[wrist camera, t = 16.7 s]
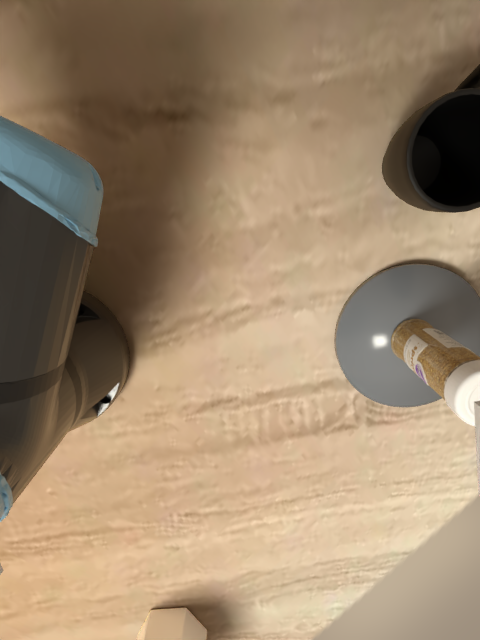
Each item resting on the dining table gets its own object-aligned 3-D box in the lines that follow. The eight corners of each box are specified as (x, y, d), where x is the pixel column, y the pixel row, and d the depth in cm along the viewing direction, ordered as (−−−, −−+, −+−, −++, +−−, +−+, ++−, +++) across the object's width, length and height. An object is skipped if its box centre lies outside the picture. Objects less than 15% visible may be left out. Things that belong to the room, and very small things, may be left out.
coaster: (344, 413, 45) (346, 418, 44) (325, 279, 41) (327, 280, 40) (484, 389, 44) (490, 393, 43) (478, 249, 40) (484, 250, 39)
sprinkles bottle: (380, 336, 42) (443, 396, 29) (418, 308, 41) (501, 356, 28) (406, 369, 43) (478, 441, 30) (444, 342, 42) (535, 404, 29)
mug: (499, 102, 37) (584, 67, 28) (425, 226, 40) (479, 232, 31) (421, 56, 36) (481, 4, 27) (350, 186, 39) (384, 180, 30)
